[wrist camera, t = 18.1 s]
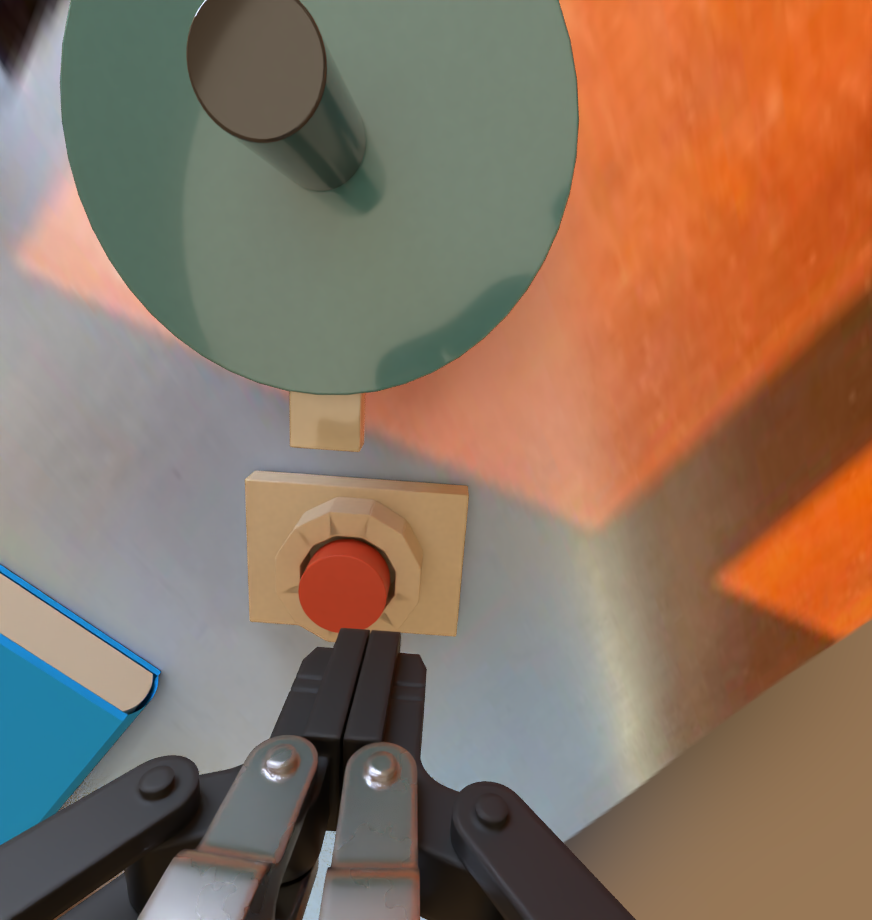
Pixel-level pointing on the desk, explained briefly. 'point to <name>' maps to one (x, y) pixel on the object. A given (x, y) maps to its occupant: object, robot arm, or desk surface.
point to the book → (57, 702)
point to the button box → (364, 519)
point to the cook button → (344, 585)
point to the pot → (327, 421)
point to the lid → (323, 173)
